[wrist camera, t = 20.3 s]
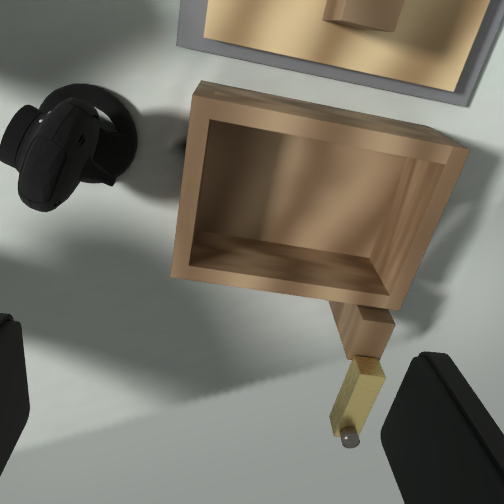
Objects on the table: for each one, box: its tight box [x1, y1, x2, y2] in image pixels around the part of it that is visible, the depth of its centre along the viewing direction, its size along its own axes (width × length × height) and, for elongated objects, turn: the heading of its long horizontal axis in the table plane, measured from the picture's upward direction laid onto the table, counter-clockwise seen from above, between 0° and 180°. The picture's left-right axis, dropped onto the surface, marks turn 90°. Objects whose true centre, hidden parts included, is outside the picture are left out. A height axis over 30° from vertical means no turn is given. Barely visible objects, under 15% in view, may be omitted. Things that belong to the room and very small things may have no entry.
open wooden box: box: [170, 80, 470, 360], centre depth 33 cm, size 18×17×8 cm
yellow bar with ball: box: [329, 356, 386, 448], centre depth 34 cm, size 2×7×3 cm, turn 169°
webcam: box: [0, 84, 137, 212], centre depth 29 cm, size 8×8×10 cm
